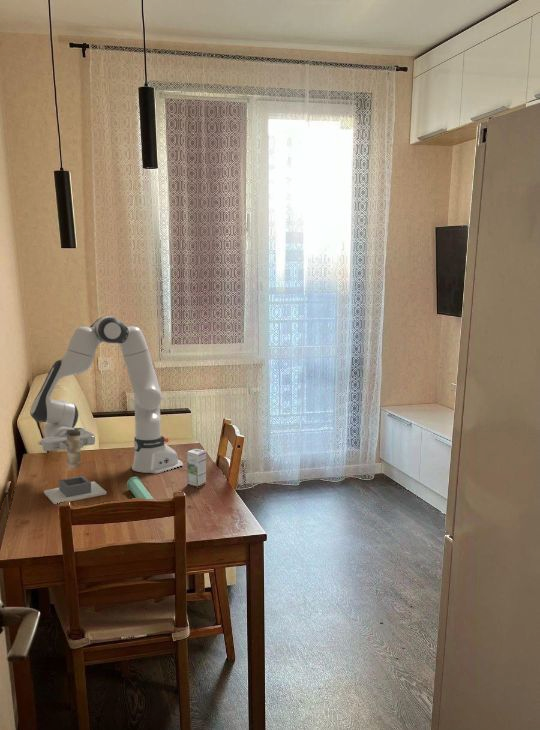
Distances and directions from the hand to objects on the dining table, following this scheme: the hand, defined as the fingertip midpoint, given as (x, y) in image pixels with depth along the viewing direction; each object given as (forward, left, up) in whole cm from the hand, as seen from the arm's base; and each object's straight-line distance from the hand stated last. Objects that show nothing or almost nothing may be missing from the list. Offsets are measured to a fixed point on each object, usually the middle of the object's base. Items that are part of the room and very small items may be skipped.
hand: (74, 446), depth 231 cm
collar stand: (0, -1, -19) cm, 19 cm away
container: (-19, +19, -20) cm, 34 cm away
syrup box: (-45, +15, -19) cm, 51 cm away
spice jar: (0, -1, -8) cm, 8 cm away
